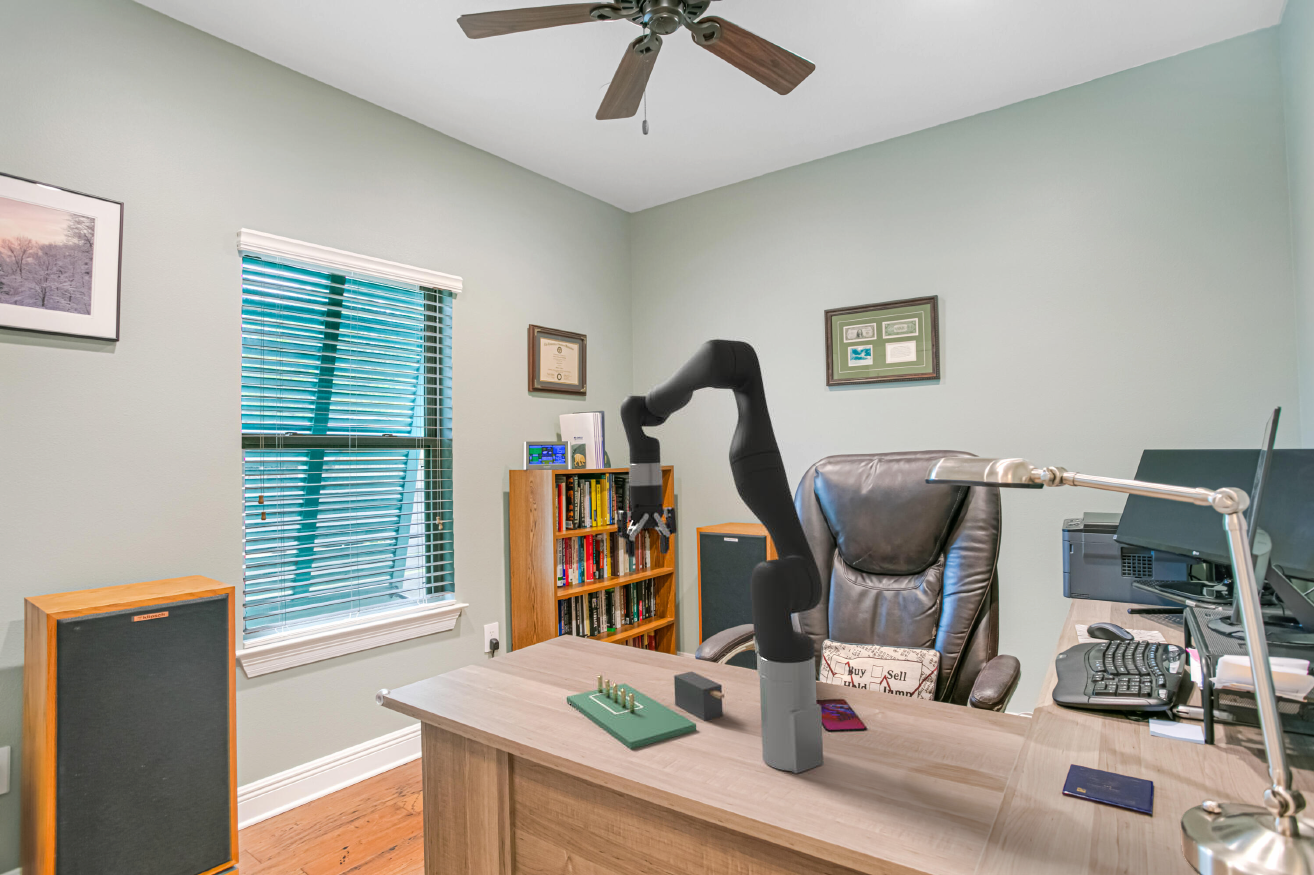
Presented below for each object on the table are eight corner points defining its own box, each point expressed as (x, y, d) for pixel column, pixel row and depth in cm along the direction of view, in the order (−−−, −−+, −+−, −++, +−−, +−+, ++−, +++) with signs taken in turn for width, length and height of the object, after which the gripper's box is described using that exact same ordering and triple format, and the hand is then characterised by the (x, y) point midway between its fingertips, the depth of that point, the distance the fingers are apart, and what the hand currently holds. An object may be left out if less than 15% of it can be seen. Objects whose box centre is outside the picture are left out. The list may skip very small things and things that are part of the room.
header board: (696, 730, 124) (696, 723, 124) (630, 749, 117) (630, 741, 117) (624, 688, 148) (624, 682, 148) (566, 702, 140) (566, 696, 140)
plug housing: (731, 720, 128) (730, 689, 128) (713, 725, 126) (712, 693, 126) (692, 700, 139) (691, 671, 140) (675, 704, 137) (674, 675, 137)
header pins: (635, 712, 130) (635, 694, 130) (631, 713, 130) (630, 695, 130) (601, 691, 143) (601, 674, 143) (597, 692, 143) (596, 675, 143)
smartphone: (826, 730, 121) (807, 699, 136) (826, 735, 121) (807, 704, 136) (868, 728, 121) (844, 698, 136) (868, 733, 121) (844, 702, 136)
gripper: (626, 485, 144) (628, 560, 143) (681, 482, 151) (683, 553, 151) (610, 484, 150) (612, 556, 150) (663, 481, 158) (665, 550, 157)
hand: (648, 555), depth 150 cm, fingers open, 8 cm apart
